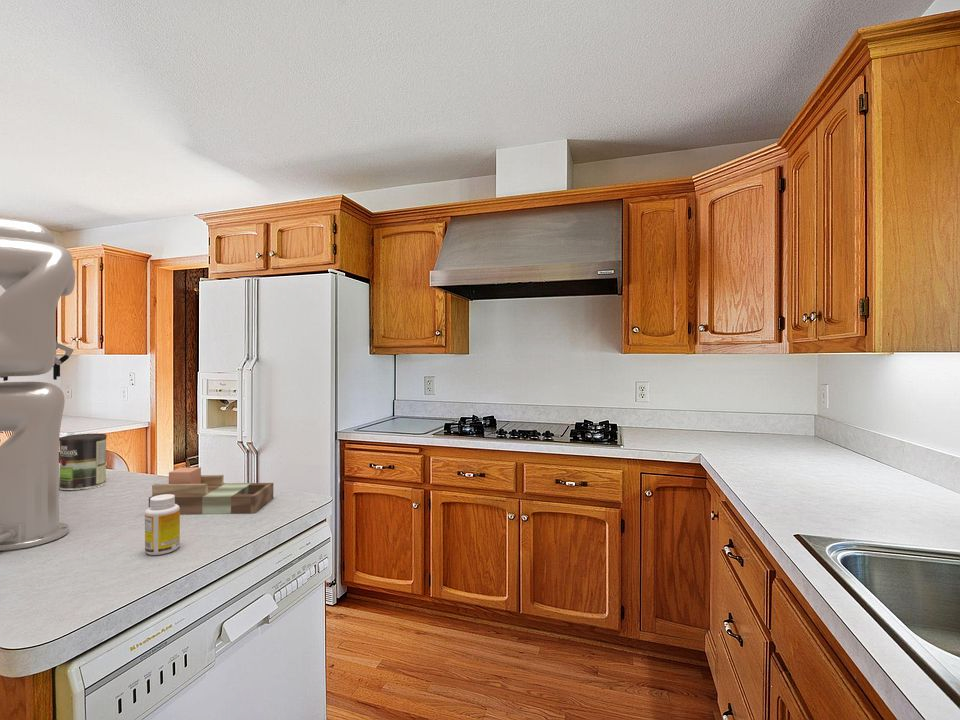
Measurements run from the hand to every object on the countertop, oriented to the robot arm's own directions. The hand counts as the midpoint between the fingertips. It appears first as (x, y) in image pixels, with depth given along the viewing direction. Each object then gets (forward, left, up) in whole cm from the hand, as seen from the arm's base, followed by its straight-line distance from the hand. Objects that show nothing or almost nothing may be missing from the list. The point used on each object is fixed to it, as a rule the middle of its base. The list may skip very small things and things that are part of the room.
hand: (30, 380), depth 128 cm
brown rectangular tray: (-14, -54, -30) cm, 63 cm away
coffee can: (+6, -9, -30) cm, 32 cm away
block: (-14, -47, -26) cm, 55 cm away
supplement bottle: (-41, -57, -30) cm, 76 cm away
